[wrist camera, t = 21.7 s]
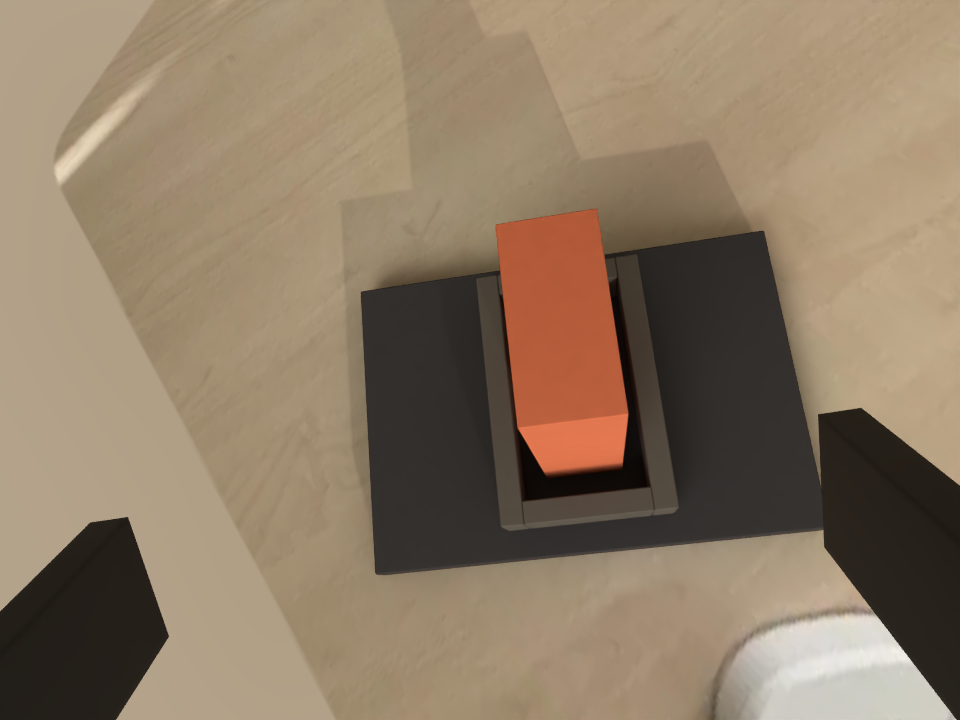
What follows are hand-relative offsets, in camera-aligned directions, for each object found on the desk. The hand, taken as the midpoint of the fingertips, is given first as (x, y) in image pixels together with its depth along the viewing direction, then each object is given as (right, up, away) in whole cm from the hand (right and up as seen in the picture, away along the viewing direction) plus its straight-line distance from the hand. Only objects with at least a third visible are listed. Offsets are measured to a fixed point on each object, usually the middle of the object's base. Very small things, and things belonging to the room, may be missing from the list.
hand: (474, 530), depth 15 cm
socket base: (+5, +1, +23) cm, 23 cm away
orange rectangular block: (+5, +1, +21) cm, 22 cm away
